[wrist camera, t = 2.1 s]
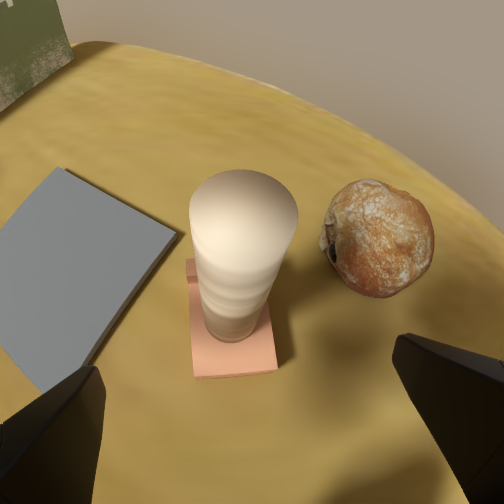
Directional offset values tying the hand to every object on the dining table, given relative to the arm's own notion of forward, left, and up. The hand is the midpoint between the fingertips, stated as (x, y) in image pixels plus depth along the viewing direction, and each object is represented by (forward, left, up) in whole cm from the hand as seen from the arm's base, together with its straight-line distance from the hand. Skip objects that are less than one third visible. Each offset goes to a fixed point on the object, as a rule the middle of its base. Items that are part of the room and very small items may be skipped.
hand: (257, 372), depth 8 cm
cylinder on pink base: (+2, -4, -12) cm, 12 cm away
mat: (+17, 0, -12) cm, 21 cm away
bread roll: (-5, -16, -12) cm, 20 cm away
